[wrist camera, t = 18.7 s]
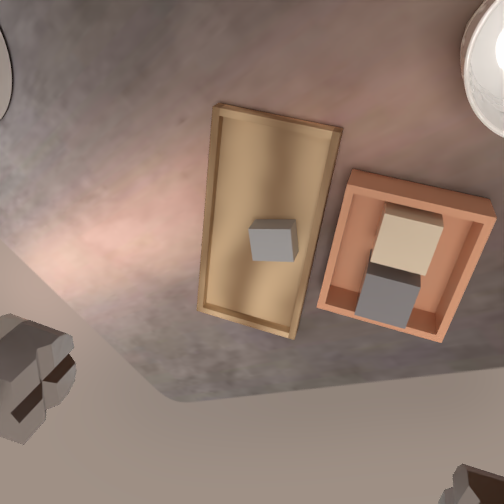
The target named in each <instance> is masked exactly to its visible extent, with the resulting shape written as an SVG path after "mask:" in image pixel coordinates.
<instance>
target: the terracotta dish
mask: <svg viewBox="0 0 504 504" xmlns="http://www.w3.org/2000/svg"><path fill="white" fill-rule="evenodd" d="M385 201H388V202H392V203H396V204H401V205H405V206H409V207H413V208H418V209H422V210H426V211H431V212H435V213H439V214H442V217H443V225H444V228H443V231H442V233H441V236H440V239H439V241H438V244H437V246H436V249H435V252H434V254H433V257H432V260H431V262H430V265H429V267H428V270H427V273H426V275H425V276H424V275H421V288H420V291H419V293H418V296H417V299H416V301H415V304H414V307H413V309H412V312H411V315H410V317H409V320H408V323H407V325H406V328H405V329H403V328H399V327H396V326H392V325H389V324H385V323H381V322H378V321H374V320H371V319H367V318H364V317H360V316H356V315H354V313H355V308H356V303H357V298H358V293H359V288H360V284H361V281H362V278H363V274H364V271H365V267H366V264H367V261H368V257H369V254H370V250H371V249H372V248H373V242H374V237H375V234H376V230H377V227H378V224H379V220H380V217H381V214H382V210H383V207H384V204H385ZM496 219H497V217H496V214H495V212H494V209H493V206H492V203H491V201H490V199H487V198H483V197H478V196H474V195H469V194H465V193H460V192H456V191H451V190H447V189H442V188H437V187H433V186H428V185H424V184H419V183H415V182H410V181H406V180H401V179H397V178H392V177H388V176H383V175H379V174H374V173H370V172H365V171H361V170H356V169H352V172H351V175H350V177H349V180H348V183H347V186H346V190H345V194H344V199H343V203H342V207H341V211H340V215H339V219H338V223H337V227H336V231H335V235H334V239H333V243H332V247H331V251H330V255H329V259H328V263H327V268H326V272H325V276H324V280H323V284H322V288H321V292H320V296H319V300H318V304H317V308H320V309H324V310H327V311H331V312H334V313H338V314H341V315H345V316H348V317H352V318H356V319H359V320H363V321H366V322H370V323H373V324H377V325H380V326H384V327H387V328H391V329H394V330H398V331H401V332H405V333H408V334H412V335H415V336H419V337H422V338H426V339H429V340H433V341H436V342H440V343H442V341H443V339H444V336H445V334H446V332H447V329H448V327H449V325H450V323H451V320H452V318H453V316H454V314H455V311H456V309H457V307H458V305H459V302H460V300H461V298H462V296H463V293H464V291H465V289H466V287H467V284H468V282H469V280H470V278H471V275H472V273H473V271H474V269H475V266H476V264H477V262H478V260H479V257H480V255H481V253H482V251H483V248H484V246H485V244H486V242H487V239H488V237H489V235H490V233H491V230H492V228H493V226H494V224H495V221H496Z"/></svg>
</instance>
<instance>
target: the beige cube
mask: <svg viewBox="0 0 504 504" xmlns="http://www.w3.org/2000/svg"><path fill="white" fill-rule="evenodd" d="M443 228H444V225H443V217H442V214H439V213H435V212H431V211H426V210H422V209H418V208H413V207H409V206H405V205H401V204H396V203H392V202H388V201H385V204H384V207H383V210H382V214H381V217H380V220H379V224H378V227H377V230H376V234H375V237H374V242H373V248H372V254H371V260H370V262H374V263H377V264H381V265H385V266H389V267H393V268H397V269H401V270H404V271H408V272H412V273H416V274H420V275H424V276H425V275H426V273H427V270H428V267H429V265H430V262H431V260H432V257H433V254H434V252H435V249H436V246H437V244H438V241H439V239H440V236H441V233H442V231H443Z"/></svg>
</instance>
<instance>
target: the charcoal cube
mask: <svg viewBox="0 0 504 504" xmlns="http://www.w3.org/2000/svg"><path fill="white" fill-rule="evenodd" d="M371 254H372V249H371V250H370V254H369V257H368V261H367V264H366V267H365V271H364V274H363V278H362V281H361V284H360V288H359V293H358V298H357V303H356V308H355V313H354V315H356V316H360V317H364V318H367V319H371V320H374V321H378V322H381V323H385V324H389V325H392V326H396V327H399V328H403V329H405V328H406V325H407V323H408V320H409V317H410V315H411V312H412V309H413V307H414V304H415V301H416V299H417V296H418V293H419V291H420V288H421V275H420V274H416V273H412V272H408V271H404V270H401V269H397V268H393V267H389V266H385V265H381V264H377V263H374V262H370V260H371Z"/></svg>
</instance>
